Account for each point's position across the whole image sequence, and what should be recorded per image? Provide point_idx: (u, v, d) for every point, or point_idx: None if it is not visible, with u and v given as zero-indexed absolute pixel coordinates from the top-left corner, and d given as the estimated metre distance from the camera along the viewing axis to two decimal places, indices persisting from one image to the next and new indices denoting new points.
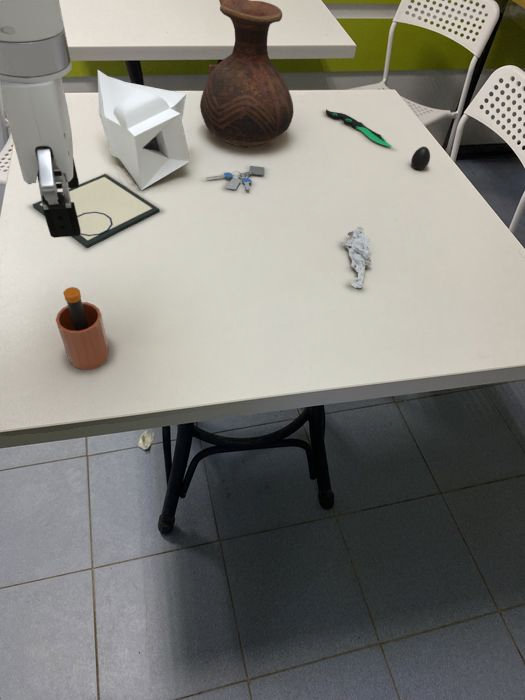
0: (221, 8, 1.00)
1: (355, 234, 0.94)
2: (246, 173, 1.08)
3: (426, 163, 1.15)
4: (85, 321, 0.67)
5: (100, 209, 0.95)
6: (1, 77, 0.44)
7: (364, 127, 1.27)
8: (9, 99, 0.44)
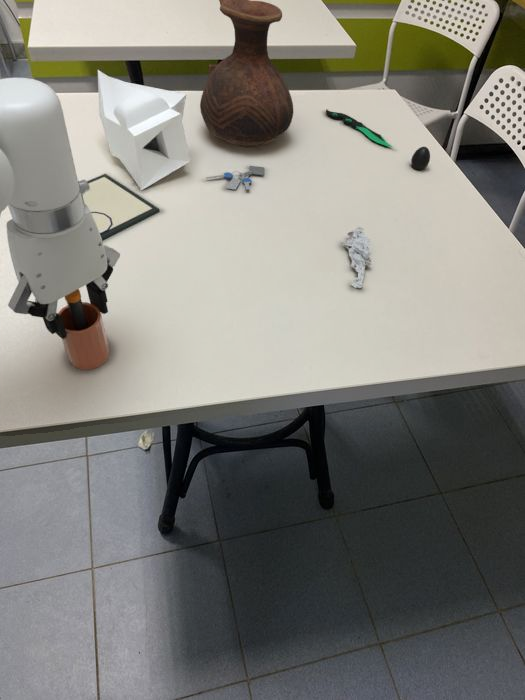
0: (221, 8, 1.00)
1: (355, 234, 0.94)
2: (246, 173, 1.08)
3: (426, 163, 1.15)
4: (85, 321, 0.67)
5: (100, 209, 0.95)
6: None
7: (364, 127, 1.27)
8: (7, 233, 0.54)
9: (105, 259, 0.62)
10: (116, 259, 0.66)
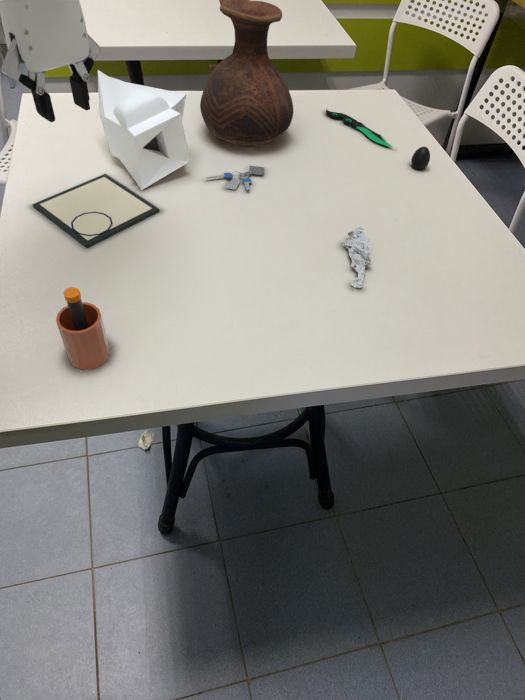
0: (221, 8, 1.00)
1: (355, 234, 0.94)
2: (246, 173, 1.08)
3: (426, 163, 1.15)
4: (85, 321, 0.67)
5: (100, 209, 0.95)
6: None
7: (364, 127, 1.27)
8: None
9: (87, 40, 0.69)
10: (97, 53, 0.72)
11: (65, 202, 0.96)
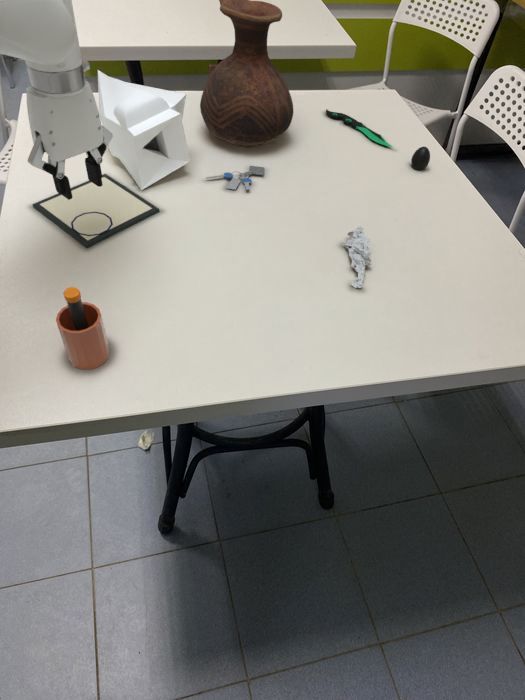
0: (221, 8, 1.00)
1: (355, 234, 0.94)
2: (246, 173, 1.08)
3: (426, 163, 1.15)
4: (85, 321, 0.67)
5: (100, 209, 0.95)
6: (31, 84, 0.71)
7: (364, 127, 1.27)
8: None
9: (101, 132, 0.79)
10: (109, 139, 0.82)
11: (65, 202, 0.96)
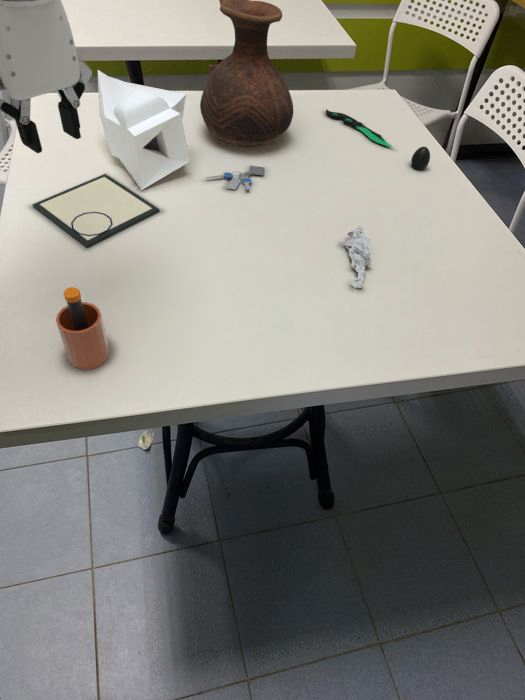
0: (221, 8, 1.00)
1: (355, 234, 0.94)
2: (246, 173, 1.08)
3: (426, 163, 1.15)
4: (85, 321, 0.67)
5: (100, 209, 0.95)
6: None
7: (364, 127, 1.27)
8: None
9: (77, 64, 0.62)
10: (88, 77, 0.66)
11: (65, 202, 0.96)
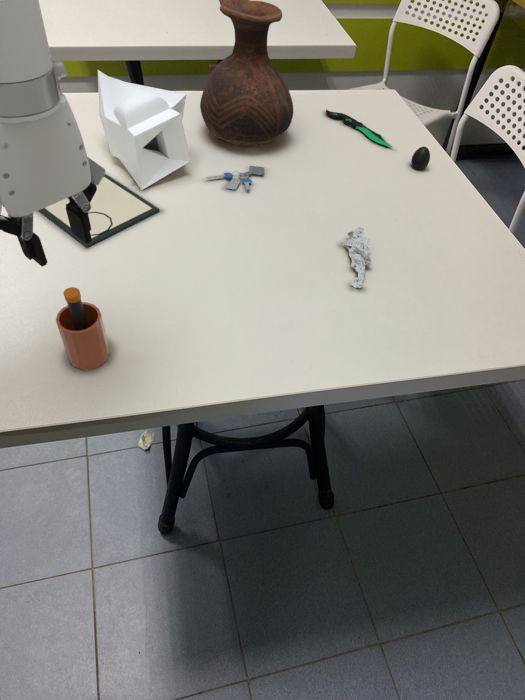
0: (221, 8, 1.00)
1: (355, 234, 0.94)
2: (246, 173, 1.08)
3: (426, 163, 1.15)
4: (85, 321, 0.67)
5: (100, 209, 0.95)
6: None
7: (364, 127, 1.27)
8: None
9: (88, 169, 0.53)
10: (100, 176, 0.56)
11: (65, 202, 0.96)
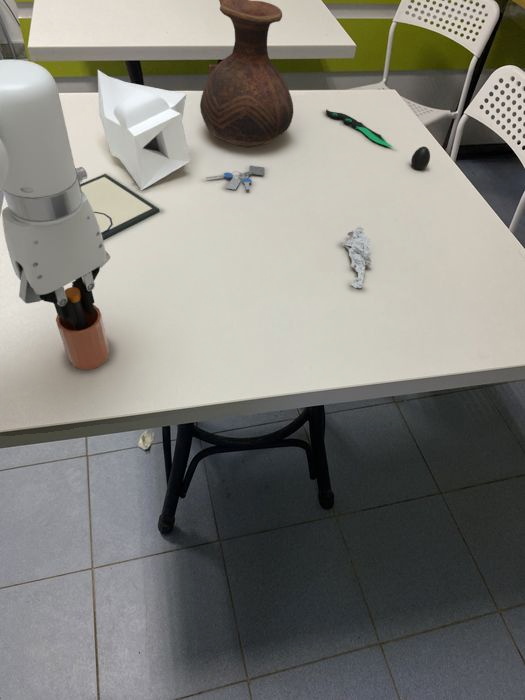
0: (221, 8, 1.00)
1: (355, 234, 0.94)
2: (246, 173, 1.08)
3: (426, 163, 1.15)
4: (85, 321, 0.67)
5: (100, 209, 0.95)
6: None
7: (364, 127, 1.27)
8: None
9: (103, 249, 0.61)
10: (105, 261, 0.64)
11: None
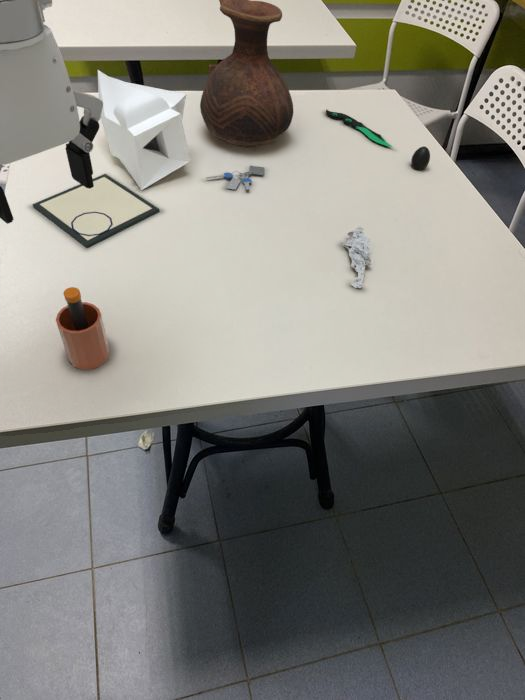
0: (221, 8, 1.00)
1: (355, 234, 0.94)
2: (246, 173, 1.08)
3: (426, 163, 1.15)
4: (85, 321, 0.67)
5: (100, 209, 0.95)
6: None
7: (364, 127, 1.27)
8: None
9: (76, 115, 0.48)
10: (99, 109, 0.51)
11: (65, 202, 0.96)
